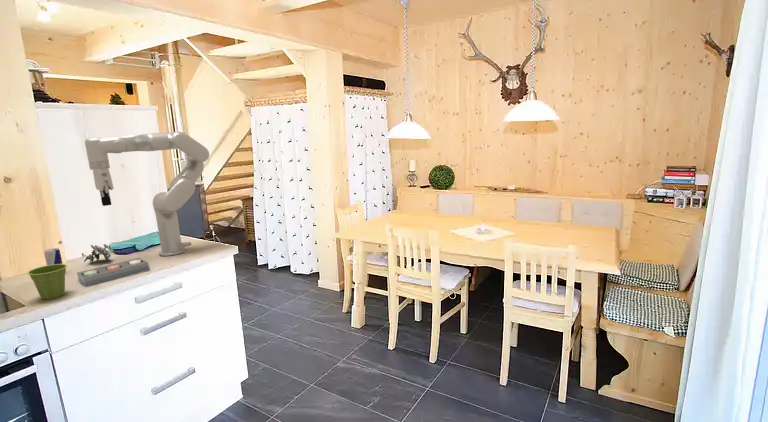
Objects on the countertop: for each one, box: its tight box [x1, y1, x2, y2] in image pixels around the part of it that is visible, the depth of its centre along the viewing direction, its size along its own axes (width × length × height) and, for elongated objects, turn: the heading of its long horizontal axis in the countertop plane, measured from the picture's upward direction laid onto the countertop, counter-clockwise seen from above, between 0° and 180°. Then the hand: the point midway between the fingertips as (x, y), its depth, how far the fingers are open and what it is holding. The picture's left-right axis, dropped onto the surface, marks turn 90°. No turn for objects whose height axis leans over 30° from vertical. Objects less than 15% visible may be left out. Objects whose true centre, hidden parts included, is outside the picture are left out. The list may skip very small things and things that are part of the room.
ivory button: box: [129, 260, 141, 265], centre depth 181 cm, size 5×5×2 cm
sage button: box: [84, 270, 97, 276], centre depth 168 cm, size 5×5×2 cm
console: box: [76, 257, 150, 288], centre depth 175 cm, size 24×12×4 cm, turn 138°
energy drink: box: [44, 247, 64, 266], centre depth 177 cm, size 5×5×12 cm
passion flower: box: [81, 243, 112, 265], centre depth 193 cm, size 11×11×12 cm
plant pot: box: [26, 263, 68, 300], centre depth 153 cm, size 12×12×11 cm
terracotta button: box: [107, 265, 120, 270], centre depth 175 cm, size 5×5×2 cm
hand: (107, 205), depth 184 cm, fingers closed
